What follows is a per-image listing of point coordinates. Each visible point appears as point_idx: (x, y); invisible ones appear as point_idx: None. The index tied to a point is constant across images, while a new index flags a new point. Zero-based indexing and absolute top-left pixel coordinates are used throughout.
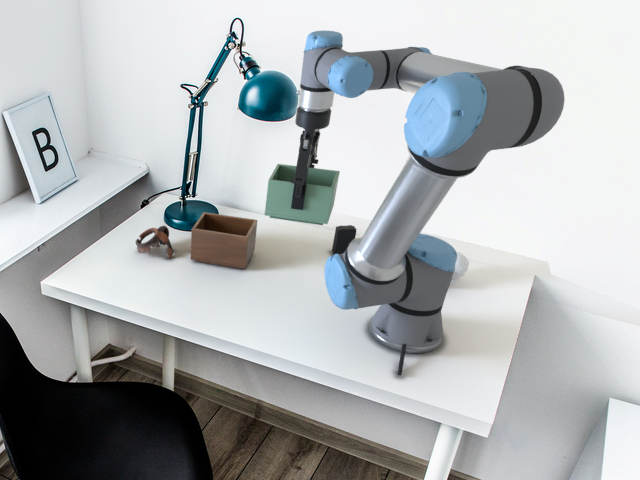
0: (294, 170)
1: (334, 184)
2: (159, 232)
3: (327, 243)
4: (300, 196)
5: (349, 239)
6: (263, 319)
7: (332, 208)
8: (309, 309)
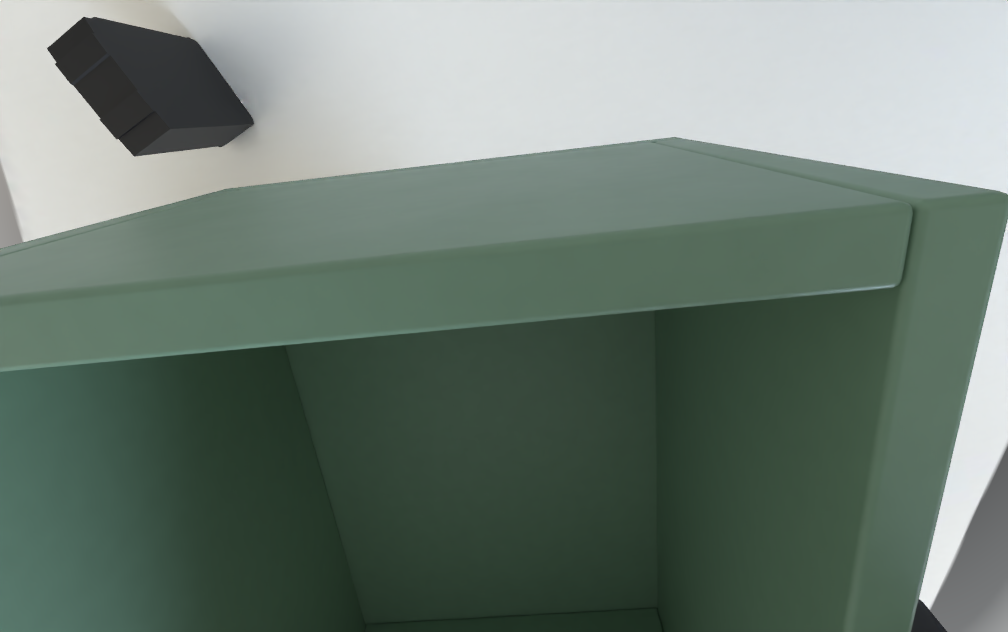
0: None
1: (701, 241)
2: None
3: (156, 185)
4: (917, 604)
5: (156, 57)
6: None
7: (323, 178)
8: (788, 98)
